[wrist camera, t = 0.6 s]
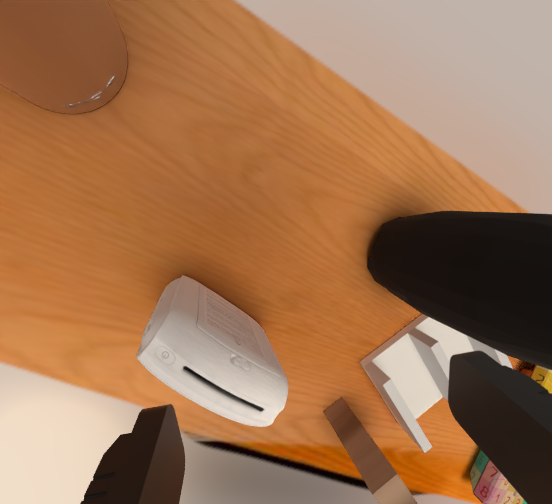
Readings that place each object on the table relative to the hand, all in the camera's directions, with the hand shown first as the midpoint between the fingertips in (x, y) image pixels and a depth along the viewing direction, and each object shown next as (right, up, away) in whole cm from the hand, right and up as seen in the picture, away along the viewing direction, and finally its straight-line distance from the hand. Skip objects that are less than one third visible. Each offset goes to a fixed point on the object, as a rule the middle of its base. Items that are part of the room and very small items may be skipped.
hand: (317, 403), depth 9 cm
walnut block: (+6, -15, +26) cm, 30 cm away
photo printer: (-7, -2, +20) cm, 22 cm away
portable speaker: (+12, +4, +24) cm, 27 cm away
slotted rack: (+18, -6, +27) cm, 33 cm away
